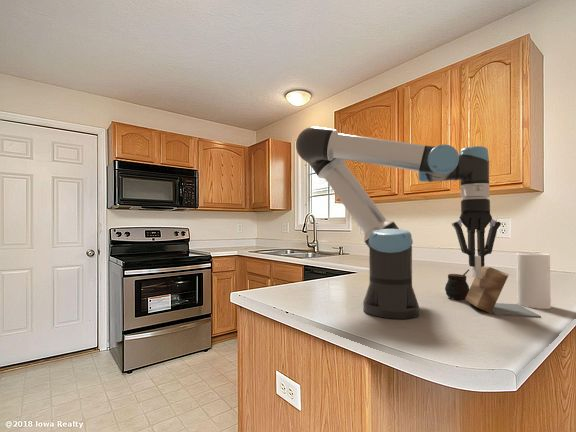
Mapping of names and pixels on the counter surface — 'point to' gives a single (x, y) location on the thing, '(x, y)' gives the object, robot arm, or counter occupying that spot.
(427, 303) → the counter surface
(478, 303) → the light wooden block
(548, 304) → the cup
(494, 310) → the mat
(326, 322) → the counter surface
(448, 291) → the mate gourd
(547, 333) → the counter surface
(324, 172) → the robot arm
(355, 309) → the counter surface
